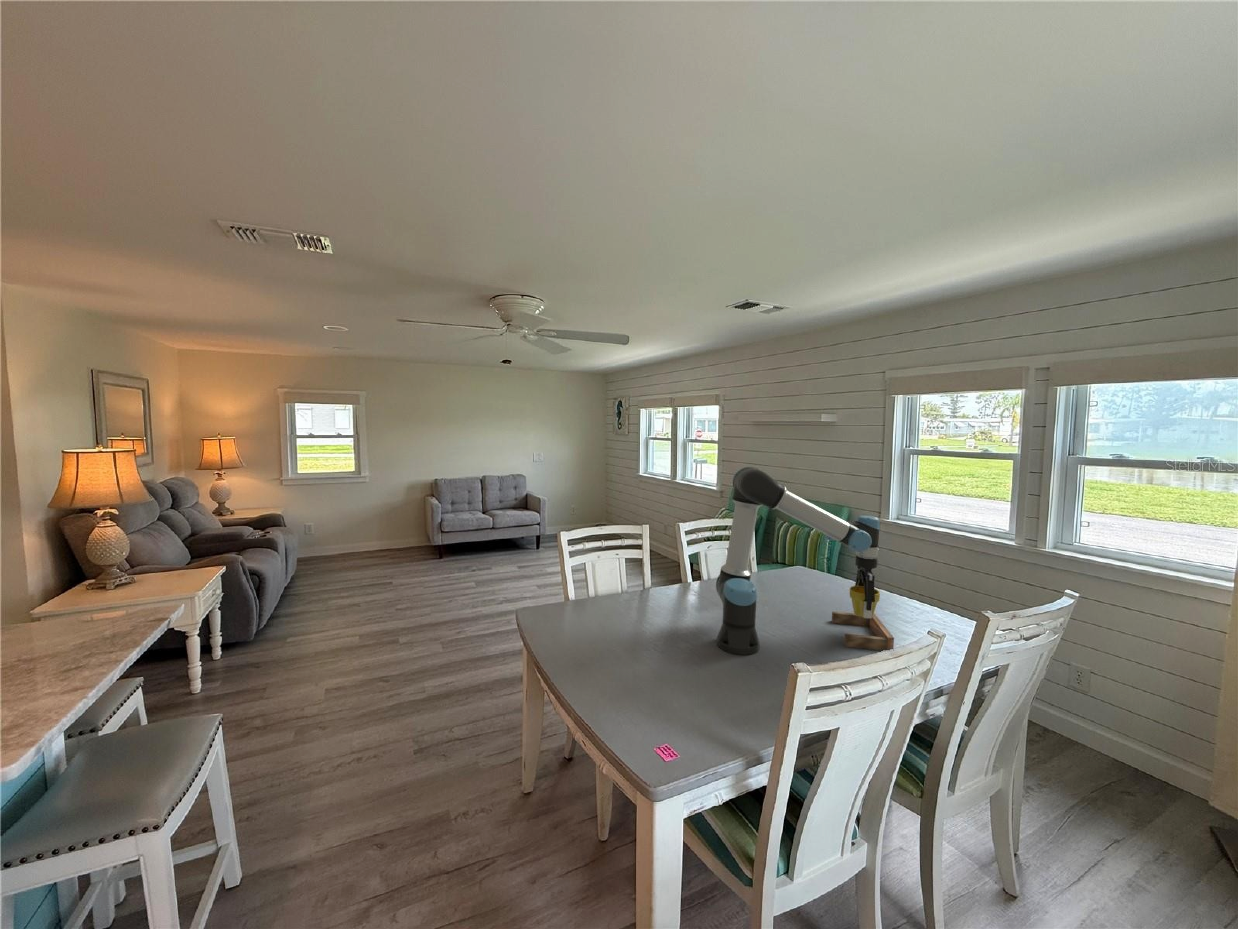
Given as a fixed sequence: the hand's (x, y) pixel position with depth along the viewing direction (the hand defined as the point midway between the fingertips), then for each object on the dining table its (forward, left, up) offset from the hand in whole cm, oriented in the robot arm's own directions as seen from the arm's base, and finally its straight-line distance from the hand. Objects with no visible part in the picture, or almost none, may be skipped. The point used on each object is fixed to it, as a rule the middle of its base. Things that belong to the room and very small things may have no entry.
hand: (863, 612), depth 190 cm
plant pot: (0, 0, -1) cm, 1 cm away
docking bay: (-2, 0, -9) cm, 9 cm away
